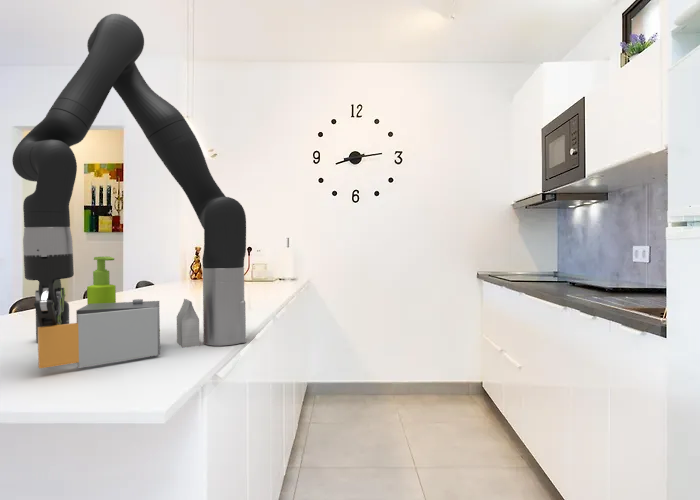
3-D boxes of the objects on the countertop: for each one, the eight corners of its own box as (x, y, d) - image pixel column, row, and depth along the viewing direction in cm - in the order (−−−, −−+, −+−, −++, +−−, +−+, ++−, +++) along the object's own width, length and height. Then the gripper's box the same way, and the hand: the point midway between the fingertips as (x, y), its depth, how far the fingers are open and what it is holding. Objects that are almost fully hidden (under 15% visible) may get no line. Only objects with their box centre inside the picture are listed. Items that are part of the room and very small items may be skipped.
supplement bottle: (75, 339, 114) (74, 289, 114) (44, 344, 108) (43, 292, 108) (60, 336, 118) (59, 288, 117) (30, 341, 112) (29, 291, 112)
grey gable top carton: (182, 347, 104) (181, 302, 104) (176, 342, 110) (176, 299, 109) (199, 345, 106) (198, 301, 105) (193, 340, 111) (192, 298, 111)
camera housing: (160, 343, 108) (159, 296, 108) (154, 356, 96) (154, 303, 96) (92, 348, 104) (91, 299, 104) (77, 361, 92) (76, 306, 92)
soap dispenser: (99, 345, 106) (98, 257, 106) (82, 342, 110) (81, 256, 110) (124, 341, 111) (122, 256, 111) (107, 338, 115) (106, 256, 115)
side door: (158, 353, 96) (157, 306, 96) (160, 354, 95) (160, 307, 95) (38, 372, 82) (37, 318, 82) (39, 374, 81) (38, 319, 81)
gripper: (33, 251, 90) (37, 341, 91) (13, 254, 78) (18, 358, 79) (78, 250, 93) (81, 337, 94) (65, 253, 81) (70, 353, 82)
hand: (52, 347), depth 86 cm, fingers closed
